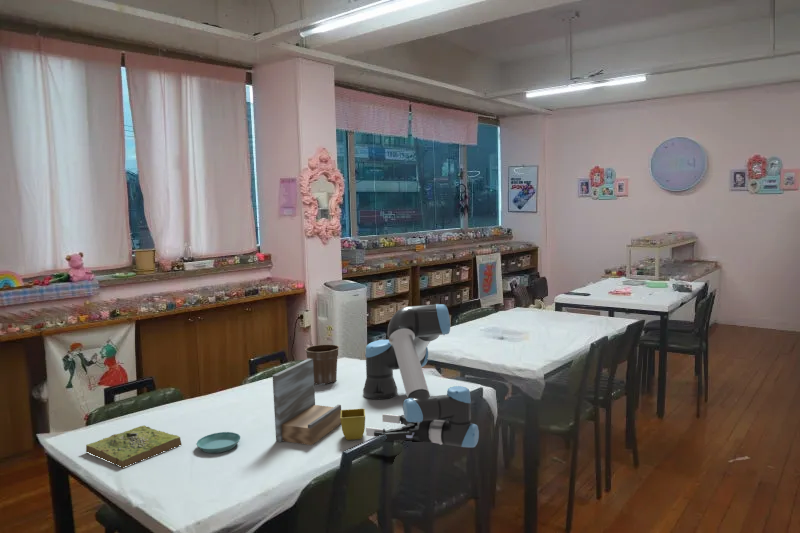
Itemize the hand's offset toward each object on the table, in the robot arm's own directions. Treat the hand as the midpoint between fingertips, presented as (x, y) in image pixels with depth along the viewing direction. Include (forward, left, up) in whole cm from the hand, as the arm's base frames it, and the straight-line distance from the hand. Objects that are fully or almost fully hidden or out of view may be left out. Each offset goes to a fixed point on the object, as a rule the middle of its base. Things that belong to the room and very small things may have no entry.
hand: (374, 424), depth 204 cm
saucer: (+41, -36, -6) cm, 55 cm away
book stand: (+11, -24, -6) cm, 27 cm away
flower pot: (+3, -8, -6) cm, 11 cm away
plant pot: (-30, -74, -6) cm, 80 cm away
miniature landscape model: (+63, -56, -7) cm, 85 cm away
